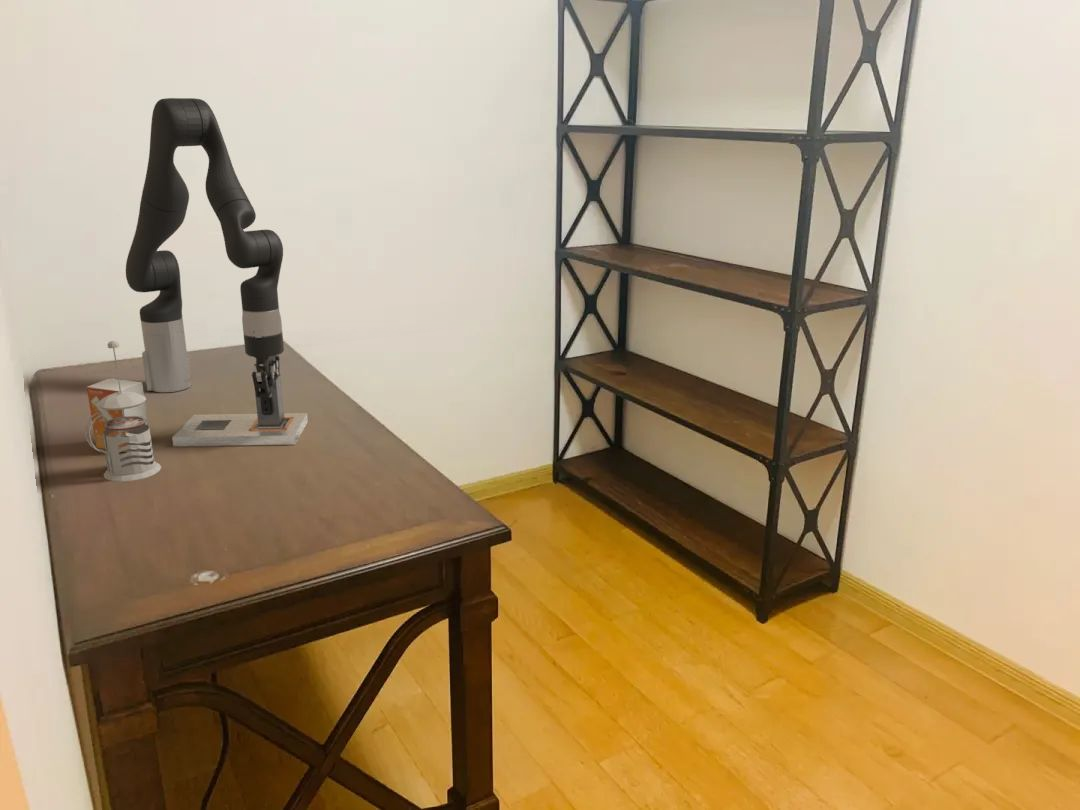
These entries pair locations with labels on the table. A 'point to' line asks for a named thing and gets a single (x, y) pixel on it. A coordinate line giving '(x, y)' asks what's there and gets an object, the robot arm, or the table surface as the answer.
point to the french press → (125, 437)
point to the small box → (103, 390)
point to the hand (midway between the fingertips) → (270, 410)
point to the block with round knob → (278, 407)
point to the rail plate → (238, 430)
